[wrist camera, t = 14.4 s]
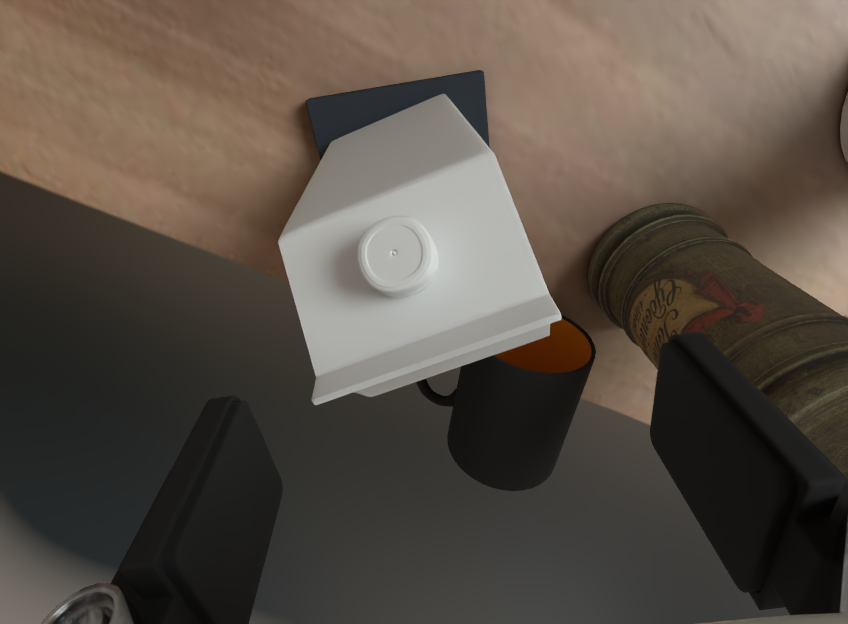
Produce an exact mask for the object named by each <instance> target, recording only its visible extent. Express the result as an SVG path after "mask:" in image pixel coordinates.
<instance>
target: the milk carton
mask: <svg viewBox="0 0 848 624" xmlns="http://www.w3.org/2000/svg"><path fill="white" fill-rule="evenodd" d="M278 243H279V247H280V251H281V255H282V258H283V262H284V265H285V269H286V272H287V276H288V279H289V283H290V287H291V290H292V294H293V297H294V301H295V304H296V308H297V311H298V315H299V318H300V322H301V326H302V329H303V333H304V336H305V340H306V343H307V347H308V351H309V354H310V357H311V361H312V365H313V368H314V371H315V375H316V381H315V386H314V390H313V395H312V402H313V403H314V404H315V405H318V404H321V403H324V402H327V401H330V400H332V399H335V398H338V397H341V396H344V395H347V394H350V393H353V392H356V393H358V394H362V395H365V396H368V397H373V396H376V395H379V394H382V393H385V392H388V391H391V390H394V389H397V388H399V387H403V386H405V385H409V384H411V383H414V382H417V381H420V380H423V379H426V378H428V377H432V376H435V375H438V374H440V373H443V372H446V371H449V370H452V369H455V368H458V367H461V366H464V365H466V364H469V363H472V362H475V361H478V360H481V359H484V358H487V357H490V356H493V355H495V354H498V353H501V352H504V351H507V350H510V349H513V348H516V347H519V346H522V345H524V344H527V343H530V342H533V341H536V340H539V339H542V338H544V337H547V336H549V335H550V324H551V323H553V322H556V321H559V320H561V318H562V316H561V313H560V311H559V309H558V308H557V306H556V304H555V303H554V301H553V299H552V298H551V296H550V294H549V291H548V289H547V286H546V284H545V281H544V279H543V276H542V274H541V271H540V268H539V266H538V263H537V261H536V258H535V256H534V253H533V251H532V248H531V245H530V243H529V240H528V238H527V235H526V233H525V230H524V228H523V225H522V223H521V220H520V217H519V215H518V212H517V210H516V207H515V205H514V202H513V200H512V197H511V194H510V192H509V189H508V187H507V184H506V182H505V179H504V177H503V174H502V171H501V169H500V166H499V164H498V161H497V159H496V156H495V154H494V153H493V152H492V151H491V149H490V148H489V147H488V145H487V144H486V143H485V142H484V140H483V139H482V138H481V137H480V136H479V134H478V133H477V132H476V131H475V130H474V128H473V127H472V126H471V125H470V123H469V122H468V121H467V120H466V119H465V117H464V116H463V115H462V114H461V113H460V111H459V110H458V109H457V108H456V106H455V105H454V104H453V103H452V102H451V100H450V99H449V98H448V97H447V96H446V94H441V95H438V96H435V97H433V98H431V99H428V100H426V101H424V102H421V103H419V104H417V105H414V106H412V107H410V108H407V109H405V110H403V111H400V112H398V113H396V114H393V115H391V116H389V117H386V118H384V119H382V120H379V121H377V122H375V123H372V124H370V125H368V126H365V127H363V128H361V129H358V130H356V131H354V132H352V133H349V134H347V135H345V136H342V137H340V138H338V139H336V140H334V141H332V142H331V143H330V145H329V146H328V148H327V150H326V152H325V154H324V156H323V157H322V159H321V161H320V163H319V165H318V167H317V168H316V170H315V172H314V174H313V176H312V178H311V180H310V181H309V183H308V185H307V187H306V189H305V191H304V192H303V194H302V196H301V198H300V200H299V202H298V204H297V205H296V207H295V209H294V211H293V213H292V215H291V216H290V218H289V220H288V222H287V224H286V226H285V228H284V230H283V232H282V234H281V236H280V238H279V241H278Z"/></svg>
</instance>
